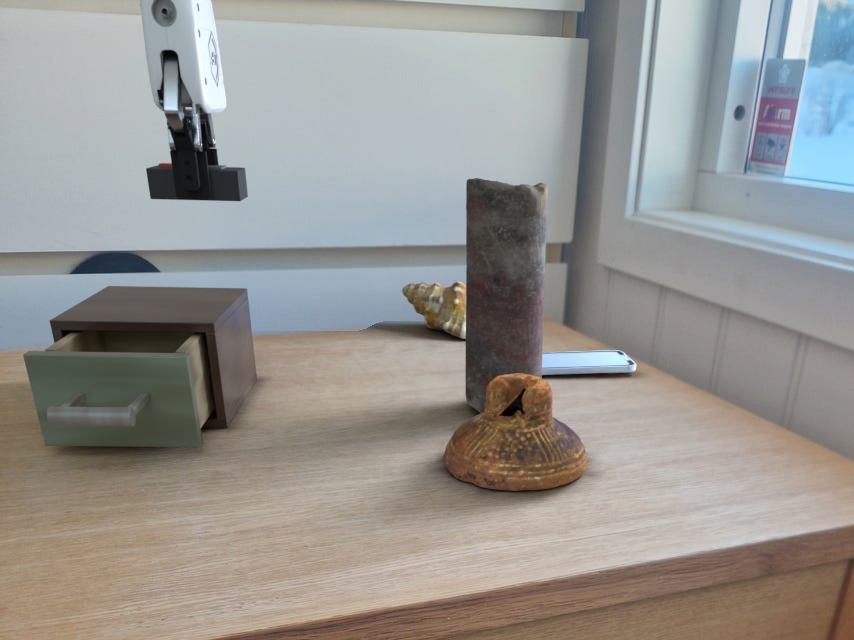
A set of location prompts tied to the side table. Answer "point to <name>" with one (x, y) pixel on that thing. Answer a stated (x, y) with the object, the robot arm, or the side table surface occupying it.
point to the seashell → (440, 305)
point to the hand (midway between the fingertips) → (199, 194)
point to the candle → (503, 282)
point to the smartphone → (586, 362)
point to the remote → (222, 182)
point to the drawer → (123, 389)
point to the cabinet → (180, 330)
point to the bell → (516, 440)
